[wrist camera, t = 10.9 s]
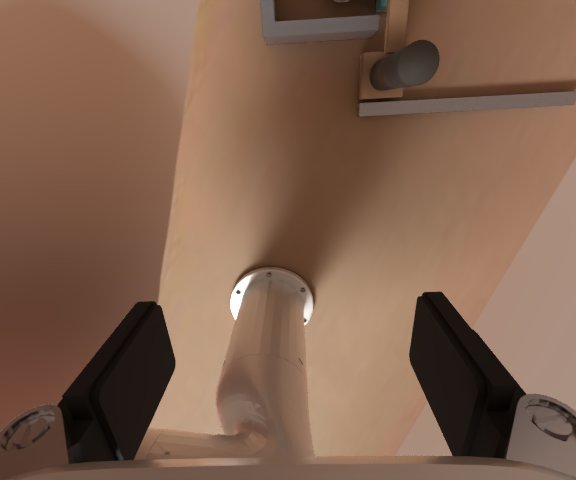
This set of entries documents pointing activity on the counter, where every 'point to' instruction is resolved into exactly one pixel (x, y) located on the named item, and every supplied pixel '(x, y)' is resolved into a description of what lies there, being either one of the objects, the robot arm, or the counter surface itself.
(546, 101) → the rail
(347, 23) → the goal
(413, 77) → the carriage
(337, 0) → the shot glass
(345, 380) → the counter surface
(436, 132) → the counter surface
